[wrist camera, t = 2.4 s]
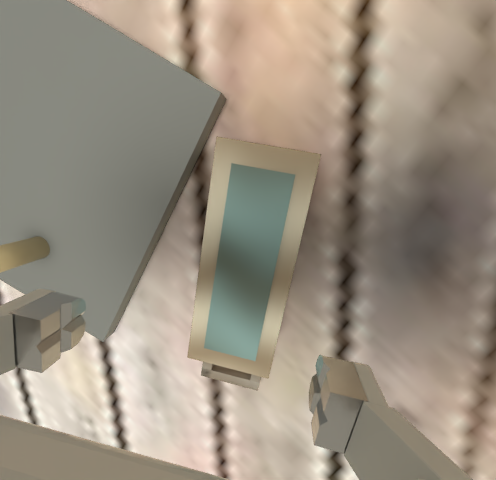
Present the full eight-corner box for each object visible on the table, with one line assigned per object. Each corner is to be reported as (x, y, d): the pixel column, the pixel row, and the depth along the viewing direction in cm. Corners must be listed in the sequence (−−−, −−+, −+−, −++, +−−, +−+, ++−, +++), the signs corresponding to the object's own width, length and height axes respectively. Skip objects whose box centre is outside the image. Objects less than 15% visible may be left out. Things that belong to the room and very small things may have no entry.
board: (226, 99, 18) (185, 50, 11) (114, 331, 24) (41, 397, 17) (27, -21, 18) (-143, -146, 11) (-34, 242, 24) (-167, 270, 17)
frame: (235, 146, 19) (215, 135, 14) (312, 159, 18) (321, 154, 13) (202, 366, 24) (178, 418, 19) (261, 382, 23) (254, 439, 18)
